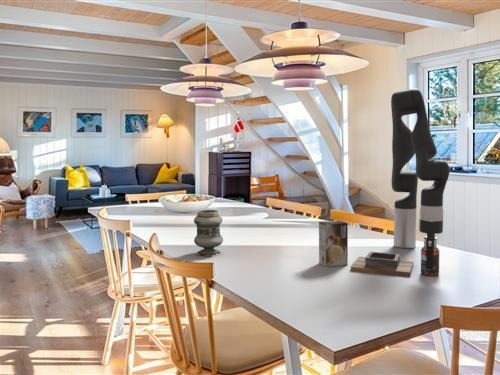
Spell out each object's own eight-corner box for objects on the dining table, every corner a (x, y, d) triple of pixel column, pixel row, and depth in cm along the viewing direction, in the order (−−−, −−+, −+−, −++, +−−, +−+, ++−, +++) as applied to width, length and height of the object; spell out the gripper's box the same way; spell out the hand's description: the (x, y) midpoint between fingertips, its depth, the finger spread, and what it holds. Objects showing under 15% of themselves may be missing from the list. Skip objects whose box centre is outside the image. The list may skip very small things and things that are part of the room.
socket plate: (358, 260, 178) (358, 249, 177) (413, 265, 170) (413, 253, 169) (350, 270, 163) (350, 258, 163) (410, 276, 155) (410, 263, 155)
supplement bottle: (434, 271, 161) (435, 240, 160) (442, 276, 155) (443, 243, 154) (417, 271, 161) (418, 240, 160) (424, 276, 155) (425, 243, 154)
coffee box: (340, 261, 177) (340, 220, 176) (348, 265, 171) (348, 222, 169) (318, 263, 174) (318, 221, 173) (325, 267, 168) (325, 223, 167)
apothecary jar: (188, 255, 189) (187, 211, 187) (204, 249, 199) (204, 208, 198) (213, 258, 183) (212, 213, 182) (228, 252, 194) (228, 209, 192)
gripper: (420, 215, 165) (419, 261, 166) (418, 220, 151) (417, 270, 153) (443, 216, 162) (441, 263, 163) (442, 222, 148) (441, 273, 150)
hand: (429, 266), depth 158 cm, fingers closed on supplement bottle, 6 cm apart
